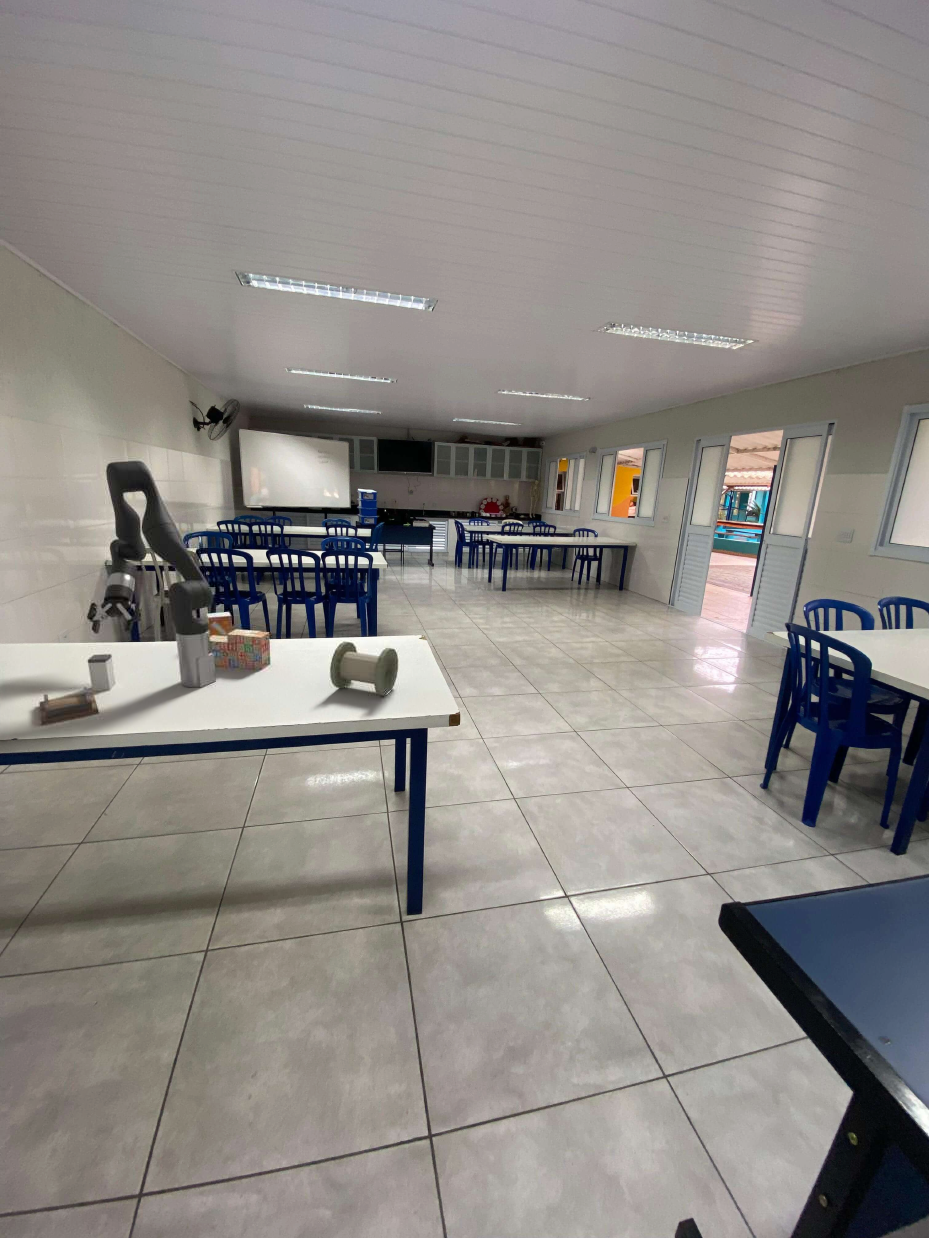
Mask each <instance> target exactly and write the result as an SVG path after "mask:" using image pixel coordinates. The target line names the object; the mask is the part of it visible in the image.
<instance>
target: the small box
mask: <svg viewBox="0 0 929 1238" xmlns="http://www.w3.org/2000/svg"><path fill="white" fill-rule="evenodd" d="M205 615H206V621H207V622H208V623H209V633H210V636H212V635H216V636H227V634H228V633H231V632H232V631H233V624H232V615H231V613H230V611H225V612H224V611H223V612H212V613H206V614H205Z"/></svg>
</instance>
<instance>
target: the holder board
mask: <svg viewBox="0 0 929 1238" xmlns="http://www.w3.org/2000/svg"><path fill="white" fill-rule="evenodd" d="M38 705H39V716H40V724H41V726H44V725H51V724H55V723H59V722H63V721H69V720H73V719H78V718H83V717H88V716H92V715H97V714H100V711H99V706H98V704H97V701H96V697H95V694H94V691H91V692H89V690H88V686H85V687H83V693H80V694H73V695H69V696H64V697H59V698H53V699H49V695H48V694H47V693H46V694H43V700H41V701H39V702H38Z"/></svg>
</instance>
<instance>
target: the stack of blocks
mask: <svg viewBox="0 0 929 1238" xmlns="http://www.w3.org/2000/svg"><path fill="white" fill-rule="evenodd" d="M270 642H271V641H270V632H269V631H260V630H248V629H237V628H236V629H234V630H232V632H231V633H228V634H227V636H216V635H212V636H210V644H211V653H213V654H214V661H215V666H218V667H229V668H242V669H249V670H251V669H252V670H262V671H263V670H264V669H265V668H267V667H268V666H270V665H271V646H270V645H271V643H270Z"/></svg>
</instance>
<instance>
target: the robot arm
mask: <svg viewBox="0 0 929 1238" xmlns="http://www.w3.org/2000/svg"><path fill="white" fill-rule="evenodd" d="M105 473H106V481H107V485H108V490H109V494H110V500H111V505H112V508H113V513H114V525H115V526H114V527H115V535H116V536H115V537H116V539H114V540H112V541H111V542H110V545H109V553H110V557H111V570H110V575H109V577H108V580H107V583H106V587H105V588H106V589H105V591H104V592H105V593H104V597H103V602H102V603H101V604H99V603H98V604H97V603H96V602H91V604H90V606H89V609H88V612H87V615H86V619H88V621H89V622H90V623H92V625H91V631H93V632H94V634H96V635H97V634H99V632H100V630H101V629H100V628H101V624H102V622H103V621H104V620H107V619H108V618H116V617H117V618H122V617H123V616H124V617H125V618H126V621H125V623H124V625H125V626H124V632H125V633H129V634H130V632H131V631H132V630H133V624H134V623H135V622H141V619H142V618H141V617H142V607H143V606H142V604H141V603H140V602H135V603H132V601H133V595H134V592H135V585H136V584H135V580H136V576H137V570H138V568H137V565H135V563H133V562H142V561H144V560H145V558H146V556H147V548H146V545H145V542H144V541H143V538H142V535H143V537H144V539H145V541H146V543H147V544H148V546H149V548H150V550H151V551H152V552H153V553H154V554H155V555H156V556H158V558H160V559H161V560H163V561H164V562H166V563H167V564H168V565H170V566H171V567H173V568H174V569H175V570H176V571H177V572H178V573H179V574H180V575H181V577H182V578H183V581H177V582H173V583H171V584H170V586H169V588H168V601H169V609H170V614H171V619H172V624H173V626H174V629H175V635H176V636H175V638H176V647H177V655H178V657H177V658H178V664H179V665H178V666H179V672H180V673H179V675H180V683H181V686H183V687H186V688H203V687H205V686H207V685H209V684H212V683H214V682H216V681H217V676H216V674H217V673H216V665H215V661H214V654H213V653H211V644H210V633H209V623H208V622H207V619H202V618H197V617H194V614H193V611H196V610H201V609H204V608H207V607H210V606H212V604H213V601H214V596H213V591H212V588H211V586H210V584H209V582H208V581H207V579H206V577H205V576H204V574H203V573H202V571H201V570H200V569H199V567H198V565H197V564H196V562H195V561H194V559H193V557H192V555H191V553H190V552H189V550H188V548H187V546H186V545H185V542H184V540H183V538H182V536H181V534H180V532H179V529H178V528H177V526H176V524H175V523H174V521H173V519H172V517H171V515H170V512H169V511H168V510H167V507H166V506H165V504H164V501H163V499H162V496H161V495H160V492H159V490H158V487H157V485H156V482H155V480H154V478H153V475H152V473H151V471H150V469H149V467H148V465H146V464H145V462H143V461H140V460H127V461H114V462H109V463H107V466H106V470H105ZM137 492H141V493H143V495H144V497H145V500H146V501H145V502H146V503H145V510H144V515H143V517H142V521H141V518H140V516H139V514H138V513H137V511H136V510H135V509H134V508H133V507H132V506H131V505H130V504H129V503H128V502H127V500H126V499H125V496H124V494H125V493H137ZM141 532H142V533H141ZM132 609H133V616H131V615H130V614H129V612H130V611H131V610H132Z"/></svg>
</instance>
